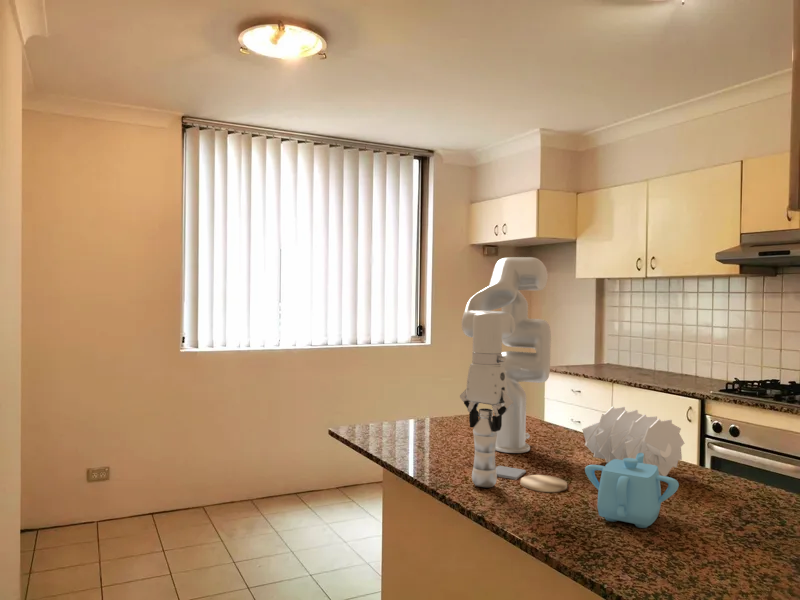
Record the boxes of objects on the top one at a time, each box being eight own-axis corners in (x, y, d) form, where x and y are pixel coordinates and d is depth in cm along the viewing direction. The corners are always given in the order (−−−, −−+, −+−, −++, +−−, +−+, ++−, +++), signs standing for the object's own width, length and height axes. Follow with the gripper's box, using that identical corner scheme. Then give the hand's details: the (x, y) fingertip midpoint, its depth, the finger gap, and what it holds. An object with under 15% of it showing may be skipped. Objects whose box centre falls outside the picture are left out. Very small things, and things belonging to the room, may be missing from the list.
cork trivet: (533, 475, 168) (533, 472, 168) (574, 484, 161) (574, 481, 161) (512, 485, 159) (512, 482, 159) (555, 495, 151) (555, 492, 151)
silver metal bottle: (481, 491, 153) (483, 413, 153) (466, 483, 159) (468, 408, 159) (501, 488, 156) (504, 411, 156) (486, 480, 162) (488, 406, 162)
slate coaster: (498, 467, 175) (498, 465, 174) (525, 472, 171) (525, 470, 171) (488, 474, 168) (488, 472, 168) (516, 479, 164) (516, 477, 164)
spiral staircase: (614, 471, 187) (678, 493, 164) (572, 450, 182) (632, 469, 159) (634, 416, 191) (699, 430, 168) (593, 394, 185) (654, 405, 162)
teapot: (684, 532, 130) (686, 469, 130) (612, 533, 128) (614, 470, 128) (640, 502, 148) (642, 447, 148) (576, 503, 146) (578, 448, 146)
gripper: (523, 361, 155) (521, 431, 155) (466, 356, 166) (465, 421, 166) (509, 363, 149) (507, 436, 149) (451, 357, 160) (449, 425, 160)
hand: (485, 428), depth 157 cm, fingers closed on silver metal bottle, 6 cm apart
